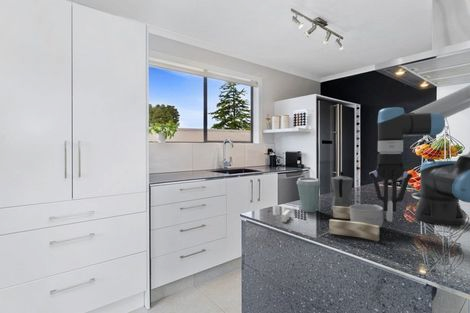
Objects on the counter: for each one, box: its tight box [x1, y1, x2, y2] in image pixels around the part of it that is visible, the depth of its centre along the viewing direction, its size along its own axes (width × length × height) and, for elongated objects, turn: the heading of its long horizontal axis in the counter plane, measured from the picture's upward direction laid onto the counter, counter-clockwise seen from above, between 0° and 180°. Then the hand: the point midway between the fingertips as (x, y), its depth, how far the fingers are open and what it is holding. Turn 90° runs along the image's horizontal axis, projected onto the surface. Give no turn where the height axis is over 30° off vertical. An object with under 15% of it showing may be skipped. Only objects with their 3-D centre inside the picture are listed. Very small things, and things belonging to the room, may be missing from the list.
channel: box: [328, 206, 380, 242], centre depth 93 cm, size 15×26×4 cm, turn 155°
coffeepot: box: [330, 171, 354, 212], centre depth 114 cm, size 15×9×18 cm, turn 153°
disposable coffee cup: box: [296, 176, 321, 213], centre depth 116 cm, size 11×11×15 cm
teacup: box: [349, 203, 384, 229], centre depth 91 cm, size 14×11×8 cm
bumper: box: [281, 209, 291, 223], centre depth 103 cm, size 2×8×3 cm, turn 155°
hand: (389, 220), depth 88 cm, fingers closed
